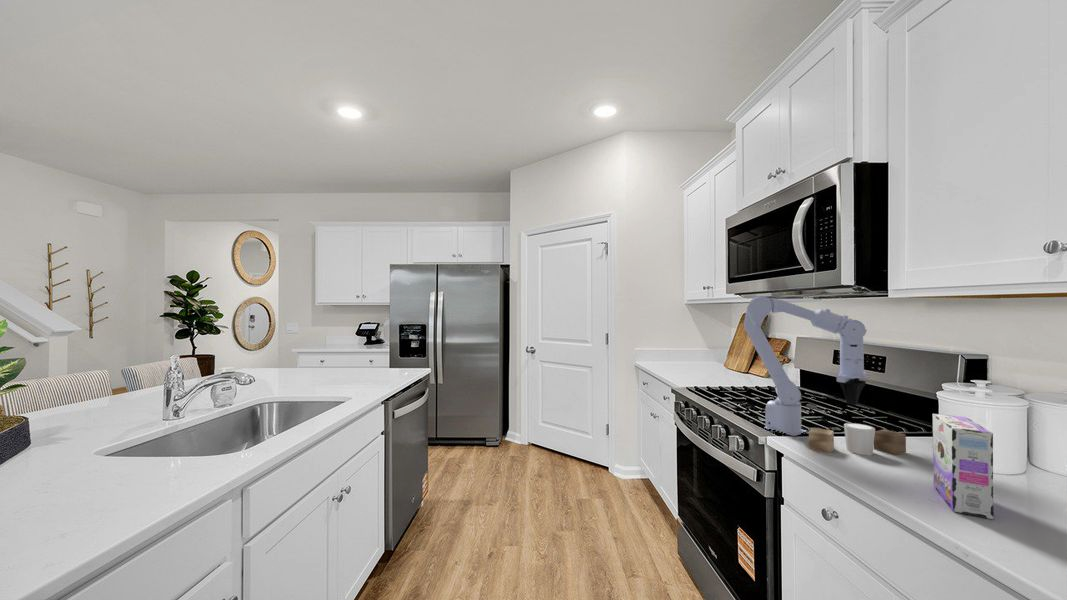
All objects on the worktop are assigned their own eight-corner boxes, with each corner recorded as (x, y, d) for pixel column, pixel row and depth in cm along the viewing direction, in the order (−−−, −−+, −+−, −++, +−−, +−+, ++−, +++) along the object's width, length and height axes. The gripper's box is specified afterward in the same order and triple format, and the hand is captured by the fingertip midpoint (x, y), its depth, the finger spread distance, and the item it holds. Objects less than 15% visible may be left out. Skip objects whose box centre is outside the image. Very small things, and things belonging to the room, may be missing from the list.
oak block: (809, 449, 116) (808, 431, 116) (812, 444, 120) (812, 427, 120) (830, 453, 113) (830, 435, 113) (833, 448, 117) (833, 431, 117)
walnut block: (873, 449, 116) (873, 431, 116) (884, 447, 118) (884, 429, 118) (894, 455, 112) (894, 436, 112) (905, 452, 114) (905, 434, 114)
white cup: (882, 456, 111) (882, 429, 111) (856, 456, 111) (855, 429, 111) (862, 447, 118) (862, 422, 118) (837, 447, 118) (837, 422, 118)
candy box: (995, 521, 78) (994, 432, 78) (952, 512, 81) (951, 427, 81) (969, 492, 89) (968, 416, 89) (932, 486, 92) (931, 412, 93)
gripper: (856, 362, 118) (856, 410, 118) (878, 358, 126) (878, 403, 125) (828, 359, 124) (828, 405, 124) (850, 356, 132) (851, 399, 132)
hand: (852, 404), depth 125 cm, fingers closed
